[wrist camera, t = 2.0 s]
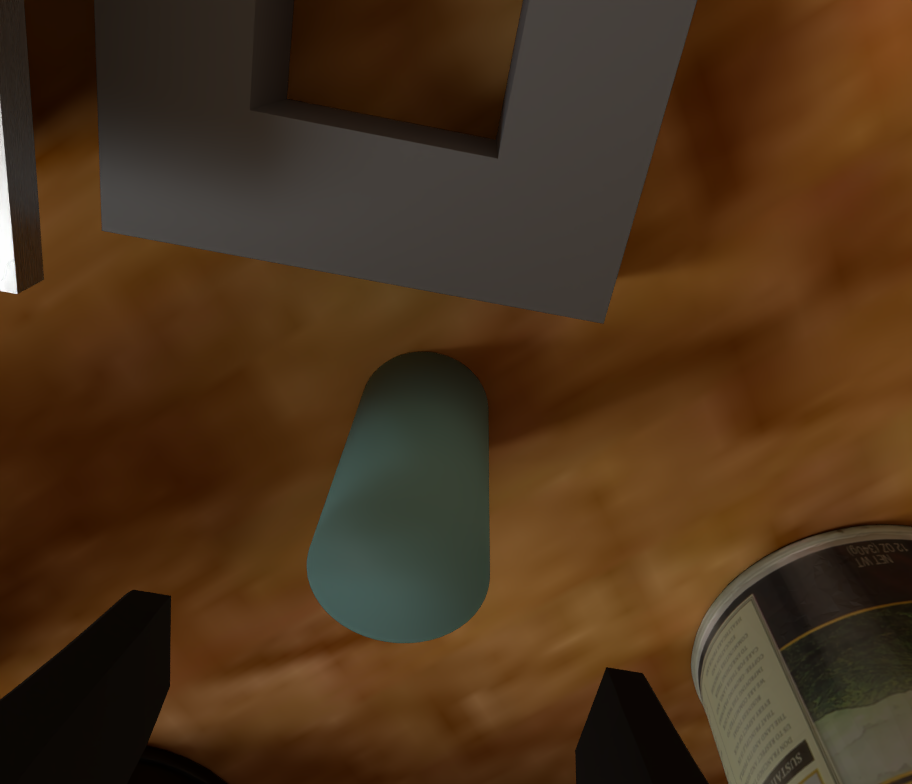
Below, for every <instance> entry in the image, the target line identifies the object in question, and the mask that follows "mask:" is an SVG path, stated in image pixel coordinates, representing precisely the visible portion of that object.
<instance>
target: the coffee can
mask: <svg viewBox="0 0 912 784" xmlns="http://www.w3.org/2000/svg"><path fill="white" fill-rule="evenodd" d="M691 670H692V677H693V681H694V685H695V689H696V691H697V694H698V696H699V699H700V701H701V703H702V705H703V707H704V710H705V712H706V714H707V717H708V720H709V724H710V727H711V730H712V733H713V736H714V739H715V742H716V746H717V749H718V752H719V755H720V758H721V761H722V764H723V768H724V771H725V774H726V777H727V780H728V783H729V784H912V527H911V526H903V525H863V526H856V527H849V528H843V529H839V530H835V531H831V532H825V533H822V534H818V535H814V536H811V537H808V538H805V539H801V540H799V541H796V542H794V543H792V544H790V545H787V546H785V547H783V548H781V549H779V550H777V551H775V552H773V553H771V554H770V555H768V556H766V557H764V558H763V559H761V560H760V561H758V562H756V563H755V564H753V565H752V566H751V567H749V568H748V569H747V570H745V571H744V572H743V573H741V574H740V575H739V576H738V577H736V578H735V579H734V580H733V581H732V582H731V583H729V584H728V586H727V587H726V588H725V589H724V590H723V591H722V593H721V594H720V595H719V596H718V597H717V598H716V600H715V601H714V603H713V604H712V605H711V607H710V608H709V610H708V611H707V613H706V614H705V616H704V618H703V620H702V622H701V625H700V627H699V629H698V632H697V634H696V638H695V642H694V646H693V652H692V660H691Z"/></svg>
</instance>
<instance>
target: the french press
mask: <svg viewBox="0 0 912 784" xmlns="http://www.w3.org/2000/svg"><path fill="white" fill-rule="evenodd" d="M127 784H227V783H225V782H224V781H223V780H221V779H220V778H219V777H217V776H216V775H215V774H213V773H212V772H211V771H209V770H207V769H206V768H204V767H202V766H200V765H198V764H196V763H194V762H193V761H191V760H189V759H186V758H184V757H181V756H178V755H176V754H173V753H170V752H168V751H165V750H161V749H157V748H152V747H148V746H146V748H145V750H144V752H143V754H142V756H141V758H140V760H139V762H138V764H137V765H136V767H135V769H134V771H133V773H132V775H131V777H130V779H129V781H128V783H127Z"/></svg>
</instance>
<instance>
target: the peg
mask: <svg viewBox="0 0 912 784" xmlns="http://www.w3.org/2000/svg"><path fill="white" fill-rule="evenodd" d="M307 574H308V580H309V583H310V586H311V589H312V591H313V593H314V595H315V597H316V599H317V600H318V602H319V603H320V605H321V606H322V607H323V608H324V609H325V611H326V612H327V613H328V614H329V615H331V616H332V617H333V618H334V619H335V620H336V621H338V622H339V623H340V624H342V625H343V626H345V627H347V628H348V629H350V630H352V631H354V632H356V633H358V634H361V635H363V636H366V637H369V638H372V639H376V640H380V641H385V642H394V643H415V642H423V641H428V640H432V639H435V638H439V637H442V636H444V635H446V634H449V633H451V632H453V631H454V630H456V629H458V628H460V627H461V626H462V625H464V624H465V623H466V622H468V621H469V620H470V619H471V618H472V617H473V616H474V615H475V613H476V612H477V611H478V609H479V608H480V607H481V605H482V603H483V601H484V599H485V597H486V594H487V591H488V587H489V581H490V542H489V422H488V401H487V397H486V393H485V391H484V389H483V386H482V384H481V383H480V381H479V380H478V378H477V377H476V376H475V375H474V374H473V372H472V371H471V370H469V369H468V368H467V367H466V366H465V365H463V364H462V363H460V362H459V361H457V360H455V359H453V358H451V357H448V356H446V355H442V354H438V353H433V352H412V353H407V354H403V355H400V356H397V357H395V358H393V359H391V360H389V361H387V362H386V363H384V364H383V365H382V366H380V367H379V368H378V369H377V370H376V371H375V372H374V373H373V375H372V376H371V377H370V379H369V380H368V382H367V384H366V386H365V389H364V392H363V394H362V397H361V400H360V403H359V406H358V409H357V412H356V415H355V418H354V421H353V423H352V426H351V429H350V432H349V435H348V438H347V441H346V444H345V447H344V450H343V452H342V455H341V458H340V461H339V464H338V467H337V470H336V473H335V476H334V479H333V482H332V484H331V487H330V490H329V493H328V496H327V499H326V502H325V505H324V508H323V511H322V513H321V516H320V519H319V522H318V525H317V528H316V531H315V534H314V537H313V540H312V542H311V545H310V548H309V552H308V557H307Z"/></svg>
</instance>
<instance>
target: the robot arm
mask: <svg viewBox="0 0 912 784" xmlns="http://www.w3.org/2000/svg"><path fill="white" fill-rule="evenodd" d="M170 625H171V596H169V595H162V594H156V593H150V592H144V591H138V590H132V591H130V592H128V593H127V594H125V595H124V596H123V597H122V598H121V599H120V600H119V601H118V602H116V603H115V604H114V605H113V606H112V607H111V608H110V609H109V610H107V611H106V612H105V613H104V614H103V615H102V616H101V617H99V618H98V619H97V620H96V621H95V622H94V623H93V624H91V625H90V626H89V627H88V628H87V629H86V630H85V631H83V632H82V633H81V634H80V635H79V636H78V637H76V638H75V639H74V640H73V641H72V642H71V643H69V644H68V645H67V646H66V647H65V648H64V649H62V650H61V651H60V652H59V653H58V654H56V655H55V656H54V657H53V658H51V659H50V660H49V661H48V662H47V663H45V664H44V665H43V666H42V667H40V668H39V669H38V670H37V671H35V672H34V673H33V674H32V675H31V676H29V677H28V678H27V679H26V680H24V681H23V682H22V683H21V684H19V685H18V686H17V687H16V688H14V689H13V690H12V691H11V692H9V693H8V694H7V695H6V696H4V697H3V698H2V699H0V784H127V783H128V781H129V779H130V777H131V775H132V773H133V771H134V769H135V767H136V765H137V764H138V762H139V760H140V758H141V756H142V754H143V752H144V750H145V748H146V745H147V743H148V740H149V738H150V735H151V733H152V731H153V728H154V726H155V723H156V721H157V718H158V716H159V713H160V710H161V708H162V705H163V703H164V700H165V697H166V695H167V692H168V690H169V687H170ZM575 754H576V784H709V783H708V782H707V780H706V779H705V777H704V775H703V774H702V772H701V771H700V769H699V768H698V766H697V764H696V763H695V761H694V759H693V758H692V756H691V754H690V753H689V751H688V749H687V748H686V746H685V744H684V743H683V741H682V739H681V738H680V736H679V734H678V733H677V731H676V729H675V728H674V726H673V724H672V722H671V721H670V719H669V717H668V716H667V714H666V712H665V710H664V709H663V707H662V705H661V703H660V702H659V700H658V698H657V697H656V695H655V693H654V691H653V690H652V688H651V686H650V684H649V683H648V681H647V679H646V678H645V676H644V675H643V673H638V672H632V671H626V670H620V669H614V668H608V667H606V670H605V673H604V675H603V678H602V681H601V683H600V686H599V689H598V691H597V694H596V697H595V699H594V702H593V705H592V707H591V710H590V713H589V715H588V718H587V721H586V723H585V726H584V729H583V731H582V734H581V737H580V739H579V742H578V745H577V747H576V750H575Z"/></svg>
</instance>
